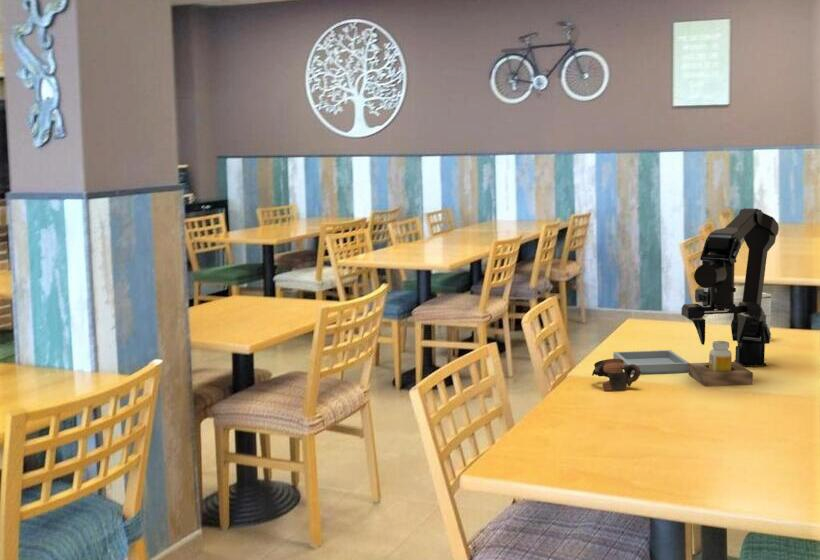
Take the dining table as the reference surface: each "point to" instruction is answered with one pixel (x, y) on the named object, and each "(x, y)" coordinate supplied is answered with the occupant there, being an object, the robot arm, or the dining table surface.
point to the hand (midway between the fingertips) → (720, 343)
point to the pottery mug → (616, 373)
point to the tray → (654, 361)
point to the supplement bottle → (720, 357)
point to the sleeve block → (720, 375)
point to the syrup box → (766, 307)
